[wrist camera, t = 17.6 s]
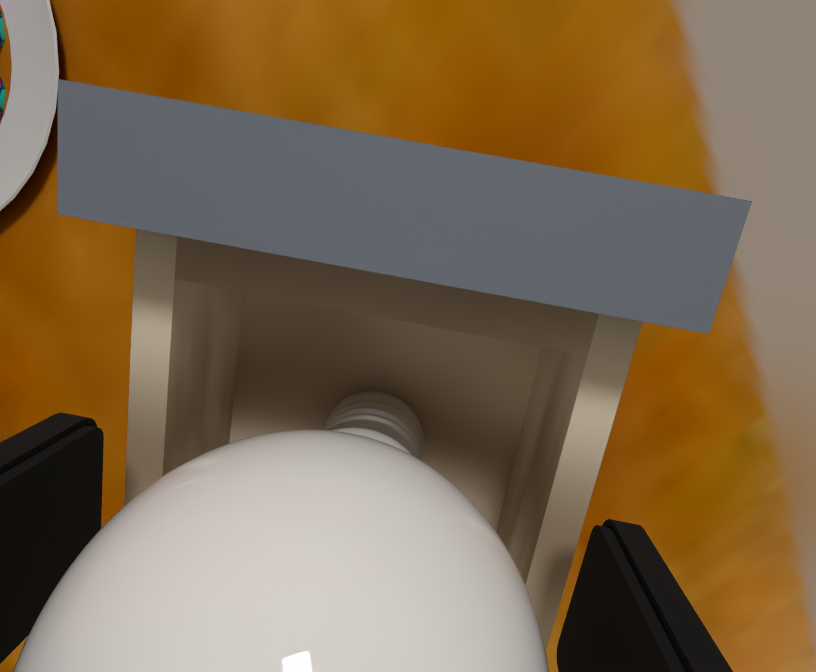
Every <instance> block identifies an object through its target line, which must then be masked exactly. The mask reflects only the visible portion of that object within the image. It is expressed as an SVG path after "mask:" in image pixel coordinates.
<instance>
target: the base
mask: <svg viewBox="0 0 816 672" xmlns="http://www.w3.org/2000/svg"><path fill="white" fill-rule="evenodd" d="M751 203H752V201H748V200H742V199H736V198H731V197H725V196H719V195H714V194H708V193H702V192H697V191H691V190H685V189H680V188H674V187H668V186H663V185H657V184H651V183H646V182H640V181H634V180H628V179H623V178H617V177H611V176H606V175H600V174H594V173H589V172H583V171H577V170H572V169H566V168H560V167H555V166H549V165H543V164H538V163H532V162H526V161H521V160H515V159H509V158H504V157H498V156H492V155H486V154H481V153H475V152H469V151H464V150H458V149H452V148H447V147H441V146H435V145H430V144H424V143H418V142H413V141H407V140H401V139H396V138H390V137H384V136H379V135H373V134H367V133H362V132H356V131H350V130H344V129H339V128H333V127H327V126H322V125H316V124H310V123H305V122H299V121H293V120H288V119H282V118H276V117H271V116H265V115H259V114H254V113H248V112H242V111H237V110H231V109H225V108H220V107H214V106H208V105H202V104H197V103H191V102H185V101H180V100H174V99H168V98H163V97H157V96H151V95H146V94H140V93H134V92H129V91H123V90H117V89H112V88H106V87H100V86H95V85H89V84H83V83H78V82H72V81H66V80H60V79H58V165H57V214H60V215H65V216H71V217H76V218H82V219H87V220H92V221H98V222H103V223H109V224H114V225H120V226H125V227H131V228H136V229H141V230H147V231H152V232H158V233H163V234H169V235H174V236H180V237H185V238H190V239H196V240H201V241H207V242H212V243H218V244H223V245H229V246H234V247H240V248H245V249H250V250H256V251H261V252H267V253H272V254H278V255H283V256H289V257H294V258H299V259H305V260H310V261H316V262H321V263H327V264H332V265H338V266H343V267H348V268H354V269H359V270H365V271H370V272H376V273H381V274H387V275H392V276H397V277H403V278H408V279H414V280H419V281H425V282H430V283H436V284H441V285H446V286H452V287H457V288H463V289H468V290H474V291H479V292H485V293H490V294H496V295H501V296H506V297H512V298H517V299H523V300H528V301H534V302H539V303H545V304H550V305H555V306H561V307H566V308H572V309H577V310H583V311H588V312H594V313H599V314H604V315H610V316H615V317H621V318H626V319H632V320H637V321H643V322H648V323H653V324H659V325H664V326H670V327H675V328H681V329H686V330H692V331H697V332H702V333H708V334H709V331H710V328H711V325H712V321H713V318H714V315H715V312H716V309H717V306H718V303H719V300H720V297H721V294H722V291H723V288H724V285H725V282H726V279H727V276H728V273H729V270H730V267H731V264H732V261H733V258H734V255H735V252H736V248H737V245H738V242H739V239H740V236H741V233H742V230H743V227H744V224H745V221H746V218H747V215H748V212H749V209H750V206H751Z"/></svg>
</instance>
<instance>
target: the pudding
mask: <svg viewBox="0 0 816 672" xmlns="http://www.w3.org/2000/svg"><path fill="white" fill-rule="evenodd" d="M0 4H1V7H2V9H3V12H4V16H5V21H6V25H7V29H8V34H9V38H10V48H11V60H12V73H11V87H10V94H9V98H8V102H7V106H6V110H5V114H4V117H3V119H2V121H1V123H0V210H2V209H3V208H4V207H5V206H6V205H7V204H8V203H10V202H11V201H12V200H13V199H14V198H15V197H16V195H17V194H18V193H19V191H20V190H21V189H22V187H23V186H24V184H25V183H26V182H27V180H28V179H29V178H30V176H31V175H32V174H33V172H34V170H35V168H36V165H37V163H38V161H39V159H40V157H41V155H42V153H43V151H44V148H45V146H46V144H47V141H48V137H49V133H50V130H51V126H52V122H53V118H54V114H55V111H56V102H57V90H58V79H59V63H58V48H57V33H56V28H55V23H54V19H53V14H52V10H51V5H50V1H49V0H0ZM4 40H5V35H4V28H3V21H2V14H1V11H0V48H1V46H2V44H3V42H4ZM5 92H6V89H5V87H4V84H3V82H2V80H1V77H0V117H1V116H2V114H3V109H4V100H5Z"/></svg>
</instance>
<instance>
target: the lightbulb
mask: <svg viewBox="0 0 816 672" xmlns="http://www.w3.org/2000/svg"><path fill="white" fill-rule="evenodd" d="M423 447H424V436H423V430H422V427H421V424H420V422H419V420H418V418H417V416H416V414H415V413H414V412H413V410H412V409H411V408H410V407H409V406H408V405H407V404H406V403H404V402H403V401H401V400H400V399H398V398H396V397H394V396H392V395H389V394H386V393H382V392H375V391H368V392H360V393H357V394H354V395H351V396H349V397H347V398H345V399H344V400H342V401H341V402H340V403H338V404H337V405H336V406H335V407H334V409H333V410H332V411H331V413H330V414H329V416H328V417H327V419H326V421H325V423H324V425H323V426H322V428H321V430H315V429H305V430H287V431H278V432H272V433H266V434H261V435H256V436H252V437H248V438H244V439H241V440H238V441H234V442H231V443H228V444H226V445H223V446H220V447H218V448H215V449H213V450H210V451H208V452H206V453H204V454H201V455H199V456H197V457H195V458H193V459H191V460H189V461H187V462H186V463H184V464H182V465H180V466H179V467H177V468H175V469H173V470H172V471H170V472H169V473H167V474H165V475H164V476H162V477H161V478H159V479H158V480H156V481H155V482H154V483H152V484H151V485H149V486H148V487H147V488H145V489H144V490H143V491H142V492H140V493H139V494H138V495H137V496H135V497H134V498H133V499H132V500H130V501H129V502H128V503H127V504H126V505H125V506H124V507H123V508H121V509H120V510H119V511H118V512H117V513H116V514H115V515H114V516H113V517H112V518H111V519H110V520H109V521H108V522H107V523H106V524H105V525H104V526H103V527H102V528H101V529H100V530H99V531H98V532H97V534H96V535H95V536H94V537H93V538H92V539H91V540H90V541H89V543H88V544H87V545H86V546H85V547H84V549H83V550H82V551H81V552H80V554H79V555H78V556H77V557H76V559H75V560H74V561H73V563H72V564H71V565H70V567H69V568H68V569H67V571H66V572H65V574H64V575H63V577H62V578H61V579H60V581H59V582H58V584H57V585H56V587H55V589H54V590H53V592H52V593H51V595H50V597H49V598H48V600H47V602H46V603H45V605H44V607H43V608H42V610H41V612H40V614H39V616H38V617H37V619H36V621H35V623H34V625H33V627H32V629H31V631H30V633H29V635H28V637H27V639H26V641H25V644H24V646H23V648H22V650H21V653H20V655H19V658H18V660H17V663H16V665H15V668H14V670H13V672H549V670H548V664H547V658H546V653H545V647H544V643H543V638H542V634H541V630H540V627H539V623H538V619H537V616H536V613H535V610H534V607H533V604H532V601H531V598H530V596H529V593H528V590H527V588H526V586H525V583H524V581H523V578H522V576H521V574H520V572H519V570H518V568H517V566H516V564H515V562H514V560H513V558H512V556H511V555H510V553H509V551H508V549H507V548H506V546H505V544H504V543H503V541H502V539H501V538H500V536H499V535H498V534H497V532H496V531H495V529H494V528H493V526H492V525H491V524H490V522H489V521H488V520H487V518H486V517H485V516H484V515H483V513H482V512H481V511H480V510H479V509H478V508H477V506H476V505H475V504H474V503H473V502H472V501H471V500H470V499H469V498H468V497H467V496H466V495H465V494H464V493H463V492H462V491H461V490H460V489H459V488H458V487H457V486H456V485H454V484H453V483H452V482H451V481H450V480H449V479H447V478H446V477H445V476H444V475H442V474H441V473H440V472H438V471H437V470H435V469H434V468H433V467H431V466H430V465H428V464H427V463H425V462H423V461H422V455H423Z"/></svg>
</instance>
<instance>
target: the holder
mask: <svg viewBox="0 0 816 672" xmlns="http://www.w3.org/2000/svg"><path fill="white" fill-rule="evenodd" d="M642 322H643V321H637V320H632V319H626V318H621V317H615V316H610V315H604V314H599V313H594V312H588V311H583V310H577V309H572V308H566V307H561V306H555V305H550V304H545V303H539V302H534V301H528V300H523V299H517V298H512V297H506V296H501V295H496V294H490V293H485V292H479V291H474V290H468V289H463V288H457V287H452V286H446V285H441V284H436V283H430V282H425V281H419V280H414V279H408V278H403V277H397V276H392V275H387V274H381V273H376V272H370V271H365V270H359V269H354V268H348V267H343V266H338V265H332V264H327V263H321V262H316V261H310V260H305V259H299V258H294V257H289V256H283V255H278V254H272V253H267V252H261V251H256V250H250V249H245V248H240V247H234V246H229V245H223V244H218V243H212V242H207V241H201V240H196V239H190V238H185V237H180V236H174V235H169V234H163V233H158V232H152V231H147V230H141V229H136V240H135V264H134V288H133V312H132V335H131V359H130V383H129V407H128V431H127V455H126V479H125V502H124V506H125V505H126V504H127V503H128V502H129V501H130V500H132V499H133V498H134V497H135V496H137V495H138V494H139V493H140V492H142V491H143V490H144V489H145V488H147V487H148V486H149V485H151V484H152V483H154V482H155V481H156V480H158V479H159V478H161V477H162V476H164V475H165V474H167V473H169V472H170V471H172V470H173V469H175V468H177V467H179V466H180V465H182V464H184V463H186V462H187V461H189V460H191V459H193V458H195V457H197V456H199V455H201V454H204V453H206V452H208V451H210V450H213V449H215V448H218V447H220V446H223V445H226V444H228V443H231V442H234V441H238V440H241V439H244V438H248V437H252V436H256V435H261V434H266V433H272V432H278V431H287V430H305V429H315V430H321V428H322V426H323V425H324V423H325V421H326V419H327V417H328V416H329V414H330V413H331V411H332V410H333V409H334V407H335V406H336V405H337V404H338V403H340V402H341V401H342V400H344V399H345V398H347V397H349V396H351V395H354V394H357V393H360V392H368V391H375V392H382V393H386V394H389V395H392V396H394V397H396V398H398V399H400V400H401V401H403V402H404V403H406V404H407V405H408V406H409V407H410V408H411V409H412V410H413V412H414V413H415V414H416V416H417V418H418V420H419V422H420V424H421V427H422V430H423V436H424V447H423V455H422V461H423V462H425V463H427V464H428V465H430V466H431V467H433V468H434V469H435V470H437V471H438V472H440V473H441V474H442V475H444V476H445V477H446V478H447V479H449V480H450V481H451V482H452V483H453V484H454V485H456V486H457V487H458V488H459V489H460V490H461V491H462V492H463V493H464V494H465V495H466V496H467V497H468V498H469V499H470V500H471V501H472V502H473V503H474V504H475V505H476V506H477V508H478V509H479V510H480V511H481V512H482V513H483V515H484V516H485V517H486V518H487V520H488V521H489V522H490V524H491V525H492V526H493V528H494V529H495V531H496V532H497V534H498V535H499V536H500V538H501V539H502V541H503V543H504V544H505V546H506V548H507V549H508V551H509V553H510V555H511V556H512V558H513V560H514V562H515V564H516V566H517V568H518V570H519V572H520V574H521V576H522V578H523V581H524V583H525V586H526V588H527V590H528V593H529V596H530V598H531V601H532V604H533V607H534V610H535V613H536V616H537V619H538V623H539V627H540V630H541V634H542V638H543V643H544V647H545V652H546V648H547V645H548V641H549V638H550V635H551V631H552V628H553V624H554V621H555V618H556V614H557V611H558V607H559V604H560V601H561V597H562V594H563V590H564V587H565V584H566V580H567V577H568V573H569V570H570V567H571V563H572V560H573V556H574V553H575V550H576V546H577V543H578V539H579V536H580V533H581V529H582V526H583V522H584V519H585V516H586V512H587V509H588V505H589V502H590V499H591V495H592V492H593V488H594V485H595V482H596V478H597V475H598V471H599V468H600V465H601V461H602V458H603V454H604V451H605V448H606V444H607V441H608V437H609V434H610V431H611V427H612V424H613V420H614V417H615V414H616V410H617V407H618V403H619V400H620V397H621V393H622V390H623V386H624V383H625V380H626V376H627V373H628V370H629V366H630V363H631V359H632V356H633V353H634V349H635V346H636V342H637V339H638V336H639V332H640V329H641V325H642Z"/></svg>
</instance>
